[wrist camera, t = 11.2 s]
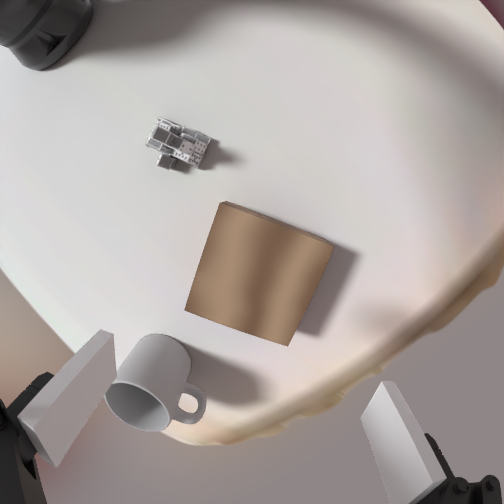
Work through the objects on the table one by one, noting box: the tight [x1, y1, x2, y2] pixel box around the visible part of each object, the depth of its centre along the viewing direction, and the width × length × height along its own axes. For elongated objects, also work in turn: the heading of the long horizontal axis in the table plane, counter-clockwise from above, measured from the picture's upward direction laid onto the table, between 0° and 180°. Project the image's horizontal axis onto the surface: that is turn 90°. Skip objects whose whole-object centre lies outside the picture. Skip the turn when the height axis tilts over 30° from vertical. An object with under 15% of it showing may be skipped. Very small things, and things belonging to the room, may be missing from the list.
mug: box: [104, 334, 206, 432], centre depth 30 cm, size 12×8×11 cm
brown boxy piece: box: [185, 201, 334, 346], centre depth 30 cm, size 12×12×5 cm
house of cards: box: [145, 117, 211, 170], centre depth 26 cm, size 9×9×8 cm
